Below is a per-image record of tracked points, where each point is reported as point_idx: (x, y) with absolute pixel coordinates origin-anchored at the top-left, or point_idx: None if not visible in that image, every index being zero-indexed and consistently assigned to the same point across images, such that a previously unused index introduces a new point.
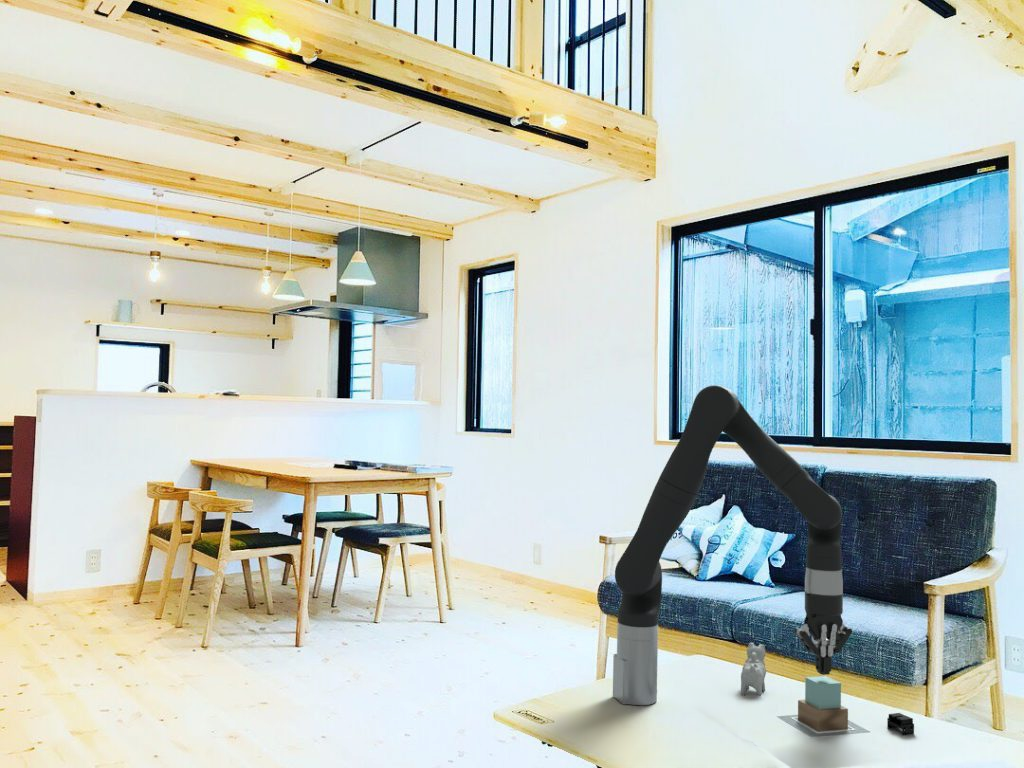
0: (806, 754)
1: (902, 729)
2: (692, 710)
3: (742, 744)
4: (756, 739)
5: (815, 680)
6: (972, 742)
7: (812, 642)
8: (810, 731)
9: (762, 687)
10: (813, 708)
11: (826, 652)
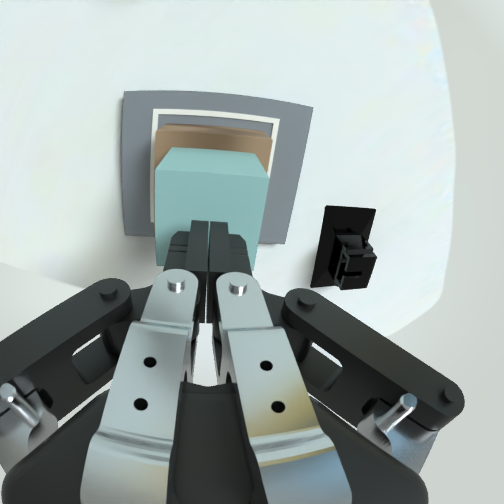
0: (90, 273)
1: (333, 278)
2: (6, 21)
3: (8, 210)
4: (33, 192)
5: (170, 220)
6: (406, 293)
7: (85, 394)
8: (142, 207)
9: None
10: (154, 210)
11: (214, 333)
